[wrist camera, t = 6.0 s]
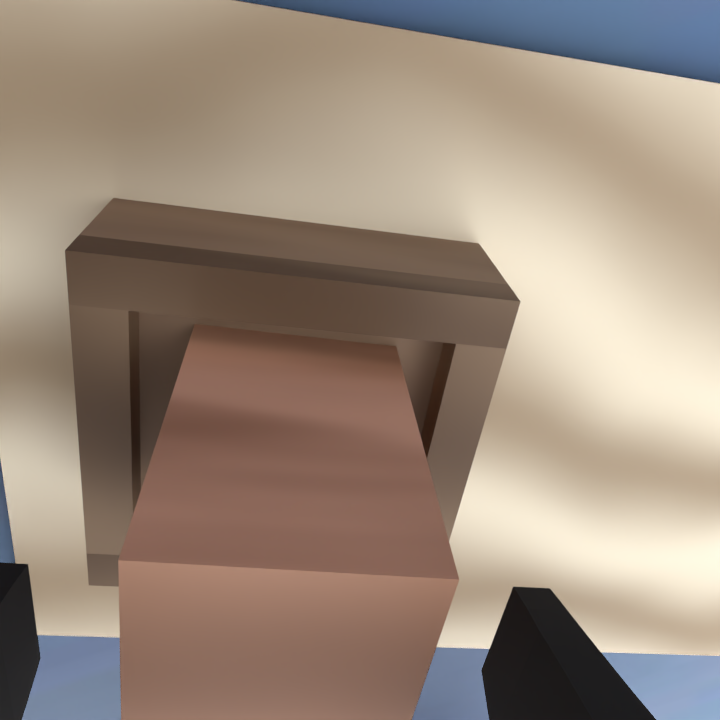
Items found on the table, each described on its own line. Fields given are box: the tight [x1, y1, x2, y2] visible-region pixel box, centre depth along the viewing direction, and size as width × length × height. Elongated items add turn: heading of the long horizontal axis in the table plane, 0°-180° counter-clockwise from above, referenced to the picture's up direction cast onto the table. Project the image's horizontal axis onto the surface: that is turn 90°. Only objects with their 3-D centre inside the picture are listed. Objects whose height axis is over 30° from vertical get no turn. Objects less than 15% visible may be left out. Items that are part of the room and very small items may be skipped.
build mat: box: [0, 0, 720, 656], centre depth 16 cm, size 18×25×4 cm
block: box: [118, 324, 459, 720], centre depth 11 cm, size 4×4×6 cm
